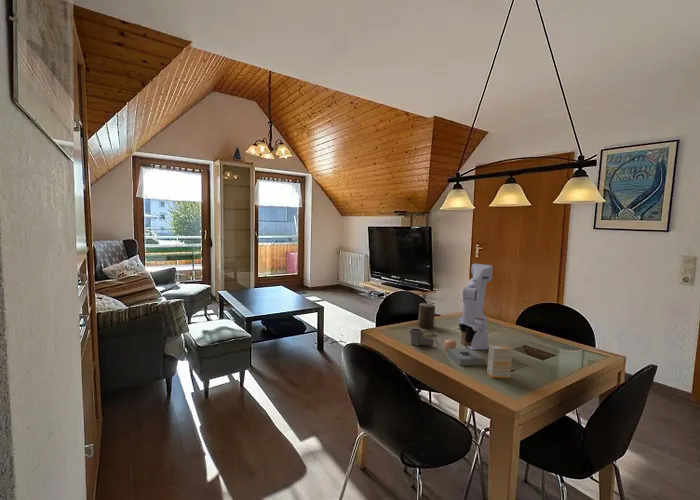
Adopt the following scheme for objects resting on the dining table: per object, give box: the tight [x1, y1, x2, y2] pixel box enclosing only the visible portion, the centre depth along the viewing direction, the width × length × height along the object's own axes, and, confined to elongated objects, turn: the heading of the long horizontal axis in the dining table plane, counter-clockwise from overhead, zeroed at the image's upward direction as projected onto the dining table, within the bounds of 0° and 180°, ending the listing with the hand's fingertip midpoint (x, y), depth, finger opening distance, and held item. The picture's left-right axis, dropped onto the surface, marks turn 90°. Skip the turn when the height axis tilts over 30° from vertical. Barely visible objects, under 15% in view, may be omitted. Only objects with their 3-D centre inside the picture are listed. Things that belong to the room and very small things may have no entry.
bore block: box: [447, 348, 485, 367], centre depth 160 cm, size 12×12×3 cm
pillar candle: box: [417, 302, 436, 330], centre depth 209 cm, size 10×10×15 cm
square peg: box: [460, 331, 471, 347], centre depth 159 cm, size 3×3×6 cm
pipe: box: [408, 327, 434, 347], centre depth 176 cm, size 6×13×8 cm, turn 78°
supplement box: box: [486, 344, 514, 379], centre depth 144 cm, size 8×5×13 cm, turn 92°
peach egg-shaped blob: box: [443, 338, 457, 353], centre depth 171 cm, size 6×6×5 cm
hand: (466, 340), depth 159 cm, fingers closed on square peg, 3 cm apart
